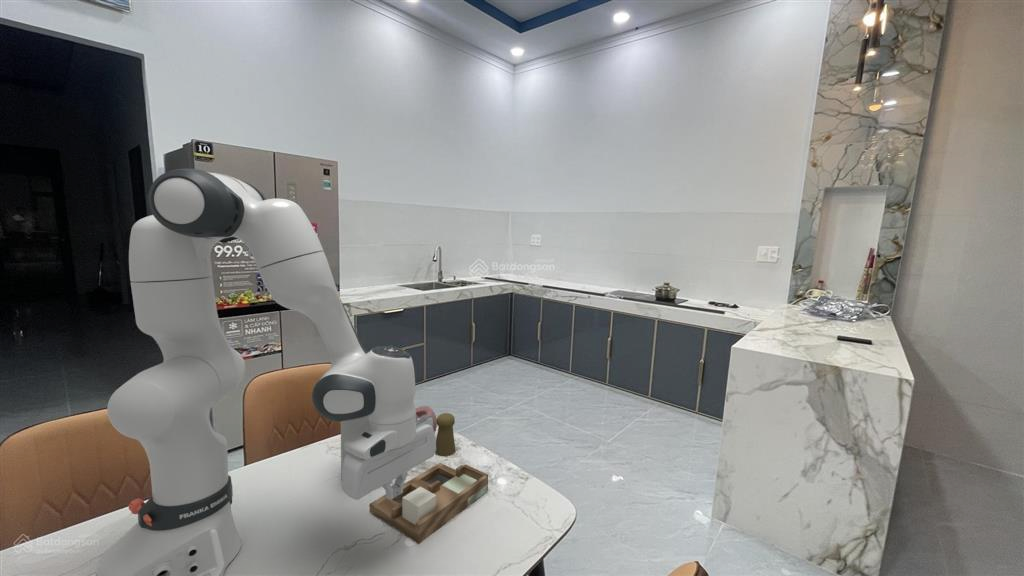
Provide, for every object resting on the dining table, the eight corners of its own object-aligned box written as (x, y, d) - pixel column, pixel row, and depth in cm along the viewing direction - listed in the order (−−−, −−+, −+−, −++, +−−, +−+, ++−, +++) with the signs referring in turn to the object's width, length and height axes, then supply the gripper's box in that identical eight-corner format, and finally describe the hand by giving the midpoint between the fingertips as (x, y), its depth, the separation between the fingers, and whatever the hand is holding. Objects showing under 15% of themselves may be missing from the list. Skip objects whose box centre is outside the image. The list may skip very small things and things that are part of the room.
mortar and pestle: (391, 438, 126) (392, 402, 125) (429, 431, 132) (430, 396, 131) (401, 456, 116) (401, 417, 114) (442, 447, 121) (442, 410, 120)
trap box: (418, 544, 83) (418, 525, 82) (369, 512, 92) (369, 495, 91) (489, 490, 101) (489, 475, 101) (442, 468, 111) (443, 454, 110)
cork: (430, 451, 119) (430, 415, 118) (444, 443, 124) (445, 409, 123) (445, 458, 116) (446, 421, 114) (459, 450, 120) (460, 414, 119)
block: (418, 527, 85) (418, 506, 84) (402, 517, 88) (402, 497, 87) (435, 514, 89) (436, 495, 88) (420, 505, 92) (420, 486, 91)
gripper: (421, 408, 90) (422, 467, 92) (335, 445, 73) (338, 516, 75) (442, 415, 86) (443, 476, 88) (356, 456, 70) (359, 531, 71)
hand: (394, 495), depth 81 cm, fingers closed
